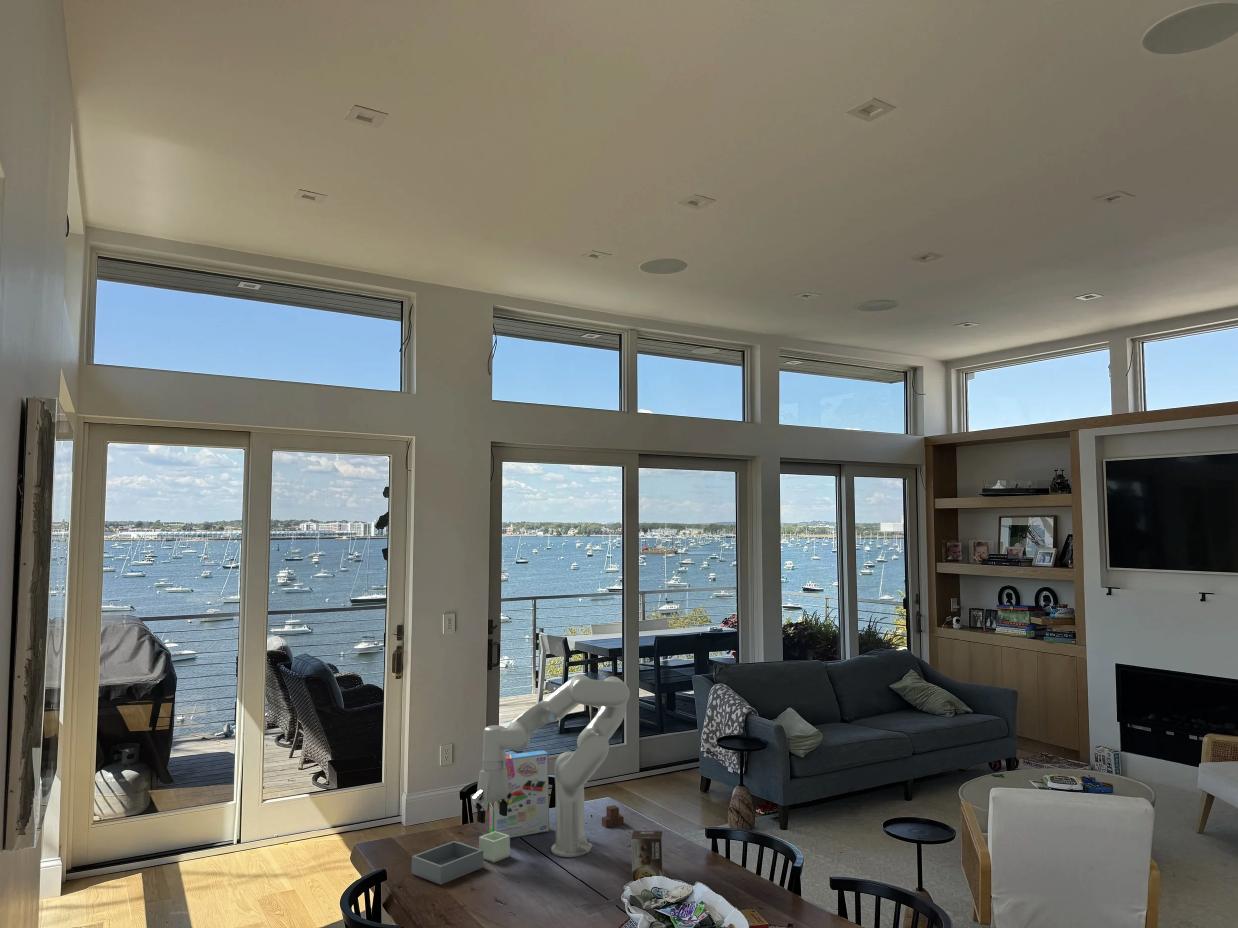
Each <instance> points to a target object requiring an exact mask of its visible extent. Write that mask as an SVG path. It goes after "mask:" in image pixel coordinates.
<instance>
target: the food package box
mask: <svg viewBox="0 0 1238 928" xmlns="http://www.w3.org/2000/svg"><path fill="white" fill-rule="evenodd" d="M663 836H664V835H663V830H660V831H659V830H656V831H655V830H652V831H651V830H634V831H632V834H631V838H630V843H631V875H632V878H631V879H632V880H631V882H633V881H636V880H638V879H641V878H644V877H652V876H663V877H664V876H665V875H664V845H663V844H664V843H663V841H664V840H663ZM664 878H665V877H664Z"/></svg>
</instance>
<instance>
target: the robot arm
mask: <svg viewBox="0 0 1238 928" xmlns="http://www.w3.org/2000/svg"><path fill="white" fill-rule="evenodd" d="M630 696H631V693H630V689H629V687H628V685H627V684H626V683H625V682H624V680H622V679H620V678H619V677H618V676H612V675H611V676H608V677H606V678H605V679H604V680H602V679H601V680H599V679H592V678H589V677H588V676H587V675H584V674H580V673H579V674H576V675H574V676H572V677H571V678H570V679H568V680H567V681H566V682H565V683H563V684H561V685H560V686H559V687H558V688H557V689H556V690H555V691H553V692H552V693H550V694H549V695H548V696H547V697H545V698H544V699H542V700H541V701H539V702H538V703H536V704H535V705H532V707H530V708H528V709H526V710H525V711H524V712H523V713H521V714H520V715H519V716H518V717H516V718H515V719H514V720H513V721H512V722H510V723H509V724H508V725H507V728H506V727H505V726H504V725H503V726H502V725H498V724H497V725H494V724H492V725H488V726H486V727H485V728H484V729H483V738H482V739H483V741H482V762H481V763H482V767H481V770H480V771H479V773H478V780H477V786H476V787H477V788H476V789H477V790H476V793H475V794H474V795H473V796H472V797H471V801H472V803H473V807H474V808H475V809H476V813H477V814H476V823H477V822H478V823H481V824H485V823H486V810H485V808H486V806H487V805H488V804H489V803H492V802H495V801H498V800H501V802H500V805H499V814H500V815H503V816H507V805H508V804H507V803H509V799H510V797H511V793H512V791H513V787H512V786H509V785H508V778H507V770H506V768H505V763H506V762H507V759H506V755H507V753H506V752H507V750H508V751H514V752H515V751H516V752H520V751H523V750H525V749H526V748H527V747H529V745H530V742H531V735H532V734H533V733H534V732H537V730H538V729H540V728H542V727H543V726H545V725H548V724H551V723H554V722H555V723H556V722H558V721H560V720H562V719H563V718H564V717H565V716H566V715H568V714H569V713H570V712H571V711H572V710H575V708H577V707H578V706H579V705H583V706H590V707H591V706H592V707H600V708H599V710H598V712H597V713H596V714H595V715H594V717H593V718H592V719H591V720H590V722H589V723H588V724H587V725H586V726H585V728H584V729H583V730H582V731H581V732H580V734H579V735H578V737H577V740H576V741H577V742H576V745H577V748H576V749H575V750H574V751H571V750H570V751H564V752H562V753H561V754H560V755H558V757H557V758H556V760H555V763H554V784H555V786H554V787H555V788H554V789H555V791H554V792H555V843H554V844H552V846H551V847H550V852H551V853H552V854H553V855H554V856H557V857H561V858H575V857H581V856H584V855H585V854H587V853H589V852H590V851H591V849H592V848H593V843H590V842H588V841H587V840H588V838H587V836H585V784H586V783H587V782H588V781H589V780H590V779H591V777H592V776H593V775H594V774H595V772H596V771H597V770H598V769H599V768H600V767H601V765H602V764H603V762H605V760H606V758H607V756H608V754H609V750H610V743H609V740H610V739H611V738H612V736H613V735H614V734H615V732H616V731H617V729H618V728H619V726H621V724H622V722H623V720H624V718H625V715H626V711H627V705H628V701H629V699H630Z"/></svg>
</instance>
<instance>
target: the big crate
mask: <svg viewBox="0 0 1238 928" xmlns="http://www.w3.org/2000/svg"><path fill="white" fill-rule="evenodd" d="M483 868H484V859H483V850H481V849H479V847H478V848H477V847H474V846H471V845H469V844H465V843H462V842H459V841H456V840H453V841H450V842H447V843H444V844H442V845H441V844H440V845H439V846H436V847H434V848H433V847H432V848H430V849H428V850H425V851H422V852H420V853H417V854H414V855H412V856H411V874H412V875H415V876H417V877H419V878H422V879H425V880H427V881H430V882H433V883H435V884H438V885H439V886H441V885H444V884H445V883H449V882H451V881H454V880H456V879H458V878H461V877H463V876H465V875H468V874H470V873H473V872H475V871H477V870H480V869H483Z"/></svg>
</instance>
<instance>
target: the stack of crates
mask: <svg viewBox="0 0 1238 928" xmlns="http://www.w3.org/2000/svg"><path fill="white" fill-rule="evenodd" d="M605 810H606V815H605V816H602V817H601V826H603V827H604V828H606V829H607V828H612V827H613V828H614V827H618V826H624V825H625V824H624V822H625V819H624V817H625V816H624V815H622V814H621V813H620V807H618V806H617V805H615V804H614V805H608V806H606V809H605Z"/></svg>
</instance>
